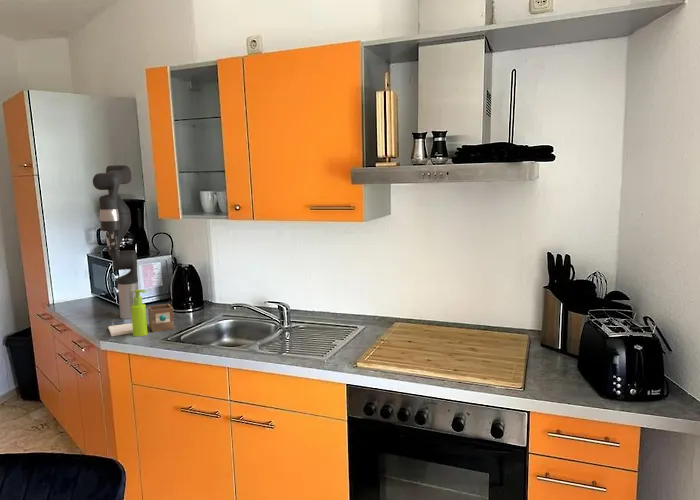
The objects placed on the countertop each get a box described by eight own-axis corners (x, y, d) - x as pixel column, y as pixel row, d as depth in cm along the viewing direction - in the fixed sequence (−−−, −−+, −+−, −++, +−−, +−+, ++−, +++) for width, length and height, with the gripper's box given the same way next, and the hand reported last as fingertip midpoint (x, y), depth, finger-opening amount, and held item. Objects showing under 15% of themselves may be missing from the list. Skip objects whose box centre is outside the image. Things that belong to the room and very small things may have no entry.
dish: (108, 328, 228) (108, 326, 228) (138, 324, 235) (138, 322, 235) (111, 336, 217) (111, 333, 217) (143, 331, 224) (143, 328, 223)
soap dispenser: (144, 336, 215) (141, 291, 213) (130, 336, 217) (126, 291, 214) (152, 332, 221) (149, 288, 218) (138, 332, 223) (135, 288, 220)
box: (149, 327, 230) (147, 306, 228) (170, 324, 234) (168, 303, 233) (152, 332, 222) (151, 310, 220) (174, 329, 226) (173, 307, 225)
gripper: (121, 220, 213) (123, 257, 216) (117, 218, 226) (120, 253, 228) (101, 221, 210) (104, 259, 212) (98, 219, 222) (101, 255, 224)
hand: (112, 256), depth 220 cm, fingers open, 8 cm apart
